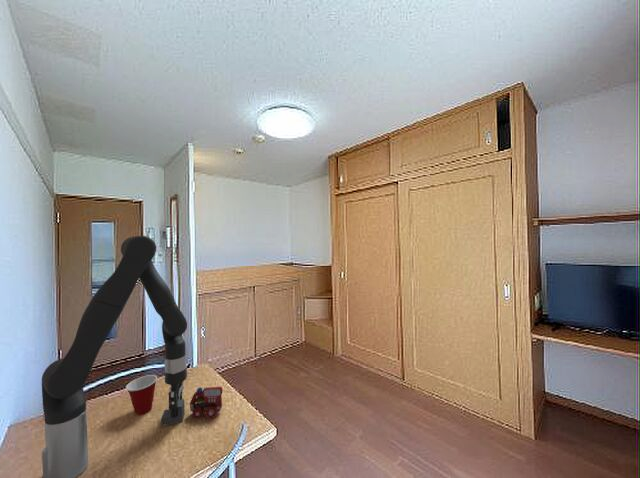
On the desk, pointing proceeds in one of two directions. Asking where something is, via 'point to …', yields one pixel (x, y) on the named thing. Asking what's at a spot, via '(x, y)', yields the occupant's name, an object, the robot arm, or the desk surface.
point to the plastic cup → (142, 393)
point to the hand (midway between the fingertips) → (176, 410)
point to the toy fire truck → (206, 402)
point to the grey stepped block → (167, 418)
